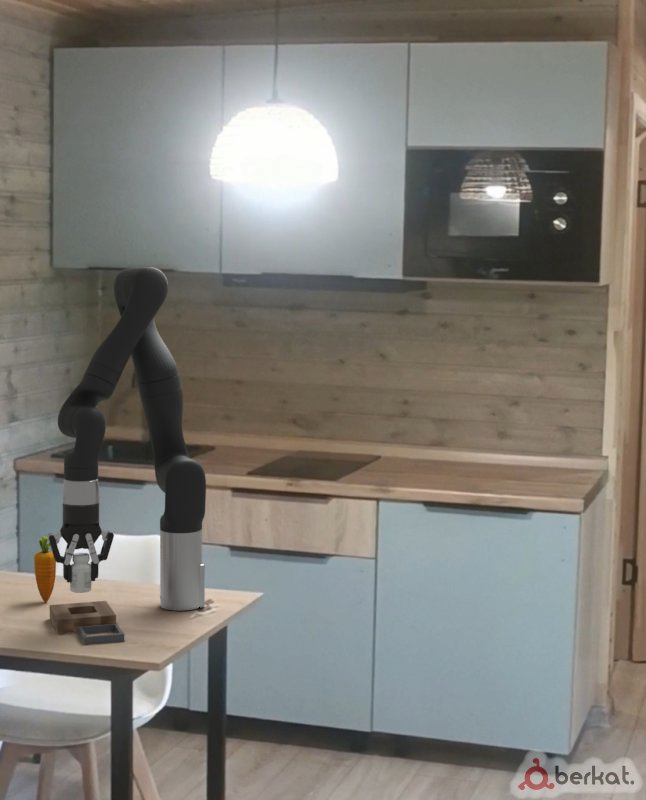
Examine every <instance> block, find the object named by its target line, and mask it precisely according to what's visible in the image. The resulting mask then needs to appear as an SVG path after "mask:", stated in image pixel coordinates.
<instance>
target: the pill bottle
mask: <svg viewBox="0 0 646 800" xmlns="http://www.w3.org/2000/svg"><path fill="white" fill-rule="evenodd" d="M71 561H72V562H73V563H72V564H71V582H70V583H69V590H70V592H73V593H76V594H83V593H89V592H91V591H92V581H91V563H89V562H90V553H89V552H88V553H87V552H76V553H75V552H74V554H73V555H72V558H71Z"/></svg>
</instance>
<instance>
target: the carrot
mask: <svg viewBox="0 0 646 800" xmlns="http://www.w3.org/2000/svg"><path fill="white" fill-rule="evenodd" d="M38 543H39V547H40V549H41V551H38V552H36V553H35V554H34V557H33V561H34V575H35V582H36V585H37V587H36V588H37V589H38V593H39V595H40V597H41V600H42V601H43V602H44V603H47V602H48V601H50V598H51V596H52V594H53V590H54V586H55V581H56V576H57V575H56V573H57V562H56V561H55V559H54V556H53V553H52V551H50V550H49V549H50V548H51V546H50V543H49V540H48V536H45V535H43V536H42V537H41V538H39V539H38Z"/></svg>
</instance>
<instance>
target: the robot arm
mask: <svg viewBox="0 0 646 800" xmlns="http://www.w3.org/2000/svg"><path fill="white" fill-rule="evenodd" d="M168 293H169V281H168V278H167V276H166V275H165V273H164V272H163V271H162V270H160V269H159V268H156V267H154V266H139V267H138V266H137V267H129V268H125V269H122V270H121V271H119V272H118V274H117V275H116V277H115V279H114V283H113V294H114V295H113V296H114V300H115V303H116V307H117V309H118V312H119V316H120V318H119V320H118V321H117V323H116V325H115V326H114V328H112V329H111V331H110V332H109V334H108V335H107V336H106V337H105V339H104V340H102V342H101V343H100V344H99V346H98V347H97V348H96V350H95V352H94V354H93V355H92V357H91V359H90V361H89V363H88V365H87V368H86V370H85V371H84V373H83V376H82V379H81V380H80V382H79V383H78V384H77V385H76V387H75V388H74V389H73V390H72V392H71V393H70V395H69V396H68V397H67V399H66V400H65V401H64V403H63V404H62V406H61V408H60V410H59V412H58V417H57V426H58V427H57V428H58V429H59V430H58V431H60V433H61V434H62V435H64V436H66V437H69V438H73V439H74V438H75V443H74V447H73V449H72V450H69V451H67V452H66V453H65V455H64V458H63V486H62V526H61V527H60V531H57V532H54V533H52V532H51V533H50V532H49V533H48V534H47V537H48V544H49V543H50V549H51V552H52V553H53V556H54V559H55V561H56V564H57V563H58V564H59V563H60V564H62V567H63V568H62V572H63V573H62V574H63V575H62V577H63V579H64V580H65V581H66V583H67V584H68V583H69V584H70V582H71V565H72V564H71V561H72V559H73V554H75V550H80V549H83V550H87V551H88V554H89V557H90V559H91V561H90V565H91V582H95V581H96V579H98V577H99V564H100V562H102V561H106V560H108V557H109V555H110V554H109V553H110V551H111V547H112V544H113V540H114V537H115V534H114V533H113V532H112V530H104V529H102V528H101V525H100V499H101V496H100V484H99V459H100V454H101V452H102V446H103V443H104V439H105V434H106V419H105V415H104V414H103V412H102V411H101V409H100V408H98V407H97V405H98V404H100V403H101V402H103V401H104V402H105V401H107V400H109V399H110V398H111V397H112V396H113V394H114V393H115V390H116V387H117V385H118V383H119V381H120V380H121V376H122V374H123V373H124V370H125V367H126V365H127V364H128V362H129V360H130V357H131V359H132V364H133V367H134V373H135V379H136V383H137V388H138V392H139V398H140V402H141V405H142V409H143V414H144V417H145V421H146V425H147V428H148V432H149V435H150V440H151V446H152V447H151V448H152V455H153V466H154V473H155V481H156V483H157V485H158V487H159V488H160V490H161V491H162V492H163V493H164V512H163V514H162V515H161V516H160V518H159V541H160V542H159V555H160V556H159V567H160V568H159V570H160V571H159V573H160V574H159V575H160V576H159V578H160V581H159V584H160V585H159V587H160V588H159V591H160V593H159V603H160V604H159V605H160V607H161V608H162V609H164V610H169V611H179V612H180V611H191V610H196V609H199V607H200V608H205V607H204V606H206V603H205V602H206V599H205V598H206V595H205V594H206V593H205V591H206V584H205V580H206V578H205V575H206V574H205V573H206V572H205V571H206V569H205V566H206V565H205V564H204V563H203V521H204V518H205V515H206V500H207V478H206V473H205V470H204V468H203V466H202V465H201V464H200V463H199V462H197V461H196V460H194V459H192V458H190V457H191V456H190V454H189V452H188V449H187V445H186V441H185V437H184V433H183V414H184V413H183V412H184V394H183V387H182V382H181V377H180V373H179V369H178V364H177V362H176V361H175V358H174V357H173V355H172V353H171V351H170V349H169V348H168V346H167V345H166V344H165V342H164V341H163V338H162V337H161V335H160V333H159V331H158V328H157V325H156V322H155V316H156V315H157V313H159V310H160V309H161V307H162V306H163V305H164V303H165V300H166V298H167V297H168ZM100 536H101V539H102V541H103V543H102V547H101V549H100V553H99V554H98V552H97V550H96V546H95V543H96V542H97V541H98V539H99V538H100ZM60 538H62V539H63V540H64V541H65V542H66V546H65V551H64V554H63V555H61V554H60V550H59V547H58V544H59V543H60Z"/></svg>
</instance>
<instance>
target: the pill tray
mask: <svg viewBox="0 0 646 800" xmlns="http://www.w3.org/2000/svg"><path fill="white" fill-rule="evenodd" d="M113 632H114V633H113ZM103 633H107V634H103ZM77 634H78V636H79V638H80V639H81V642H82V643H83V645H85V646H87V645H98V644H109V643H120V642H121V643H122V642H125V633H124V631H123V630H122V628H121V627H120V625H119V624H118V623H116V624H105V625H93V626H80V627H78V633H77ZM93 634H96V635H93Z"/></svg>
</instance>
